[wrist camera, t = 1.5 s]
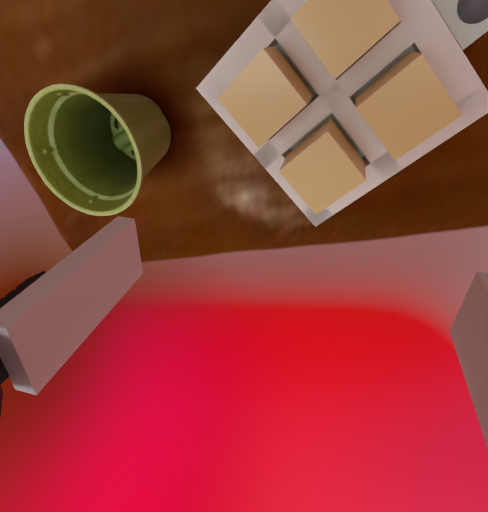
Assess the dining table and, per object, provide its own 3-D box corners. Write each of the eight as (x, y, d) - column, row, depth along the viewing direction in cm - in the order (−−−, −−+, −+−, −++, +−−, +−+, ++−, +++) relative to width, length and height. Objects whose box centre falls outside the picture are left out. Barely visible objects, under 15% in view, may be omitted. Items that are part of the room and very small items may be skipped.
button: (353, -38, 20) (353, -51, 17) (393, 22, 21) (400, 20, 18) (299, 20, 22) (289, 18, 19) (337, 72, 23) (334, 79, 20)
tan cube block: (331, 117, 25) (327, 131, 22) (364, 161, 26) (366, 180, 23) (287, 154, 27) (278, 171, 24) (320, 193, 28) (315, 214, 25)
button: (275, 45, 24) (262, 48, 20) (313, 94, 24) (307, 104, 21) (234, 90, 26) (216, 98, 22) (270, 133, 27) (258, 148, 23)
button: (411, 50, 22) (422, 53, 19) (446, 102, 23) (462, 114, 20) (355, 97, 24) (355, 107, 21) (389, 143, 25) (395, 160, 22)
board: (362, -90, 22) (363, -109, 19) (480, 97, 25) (497, 106, 22) (211, 82, 29) (195, 88, 26) (318, 208, 32) (315, 226, 29)
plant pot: (94, 161, 36) (30, 193, 29) (94, 57, 30) (14, 65, 23) (180, 191, 35) (136, 232, 28) (195, 90, 30) (146, 109, 23)
